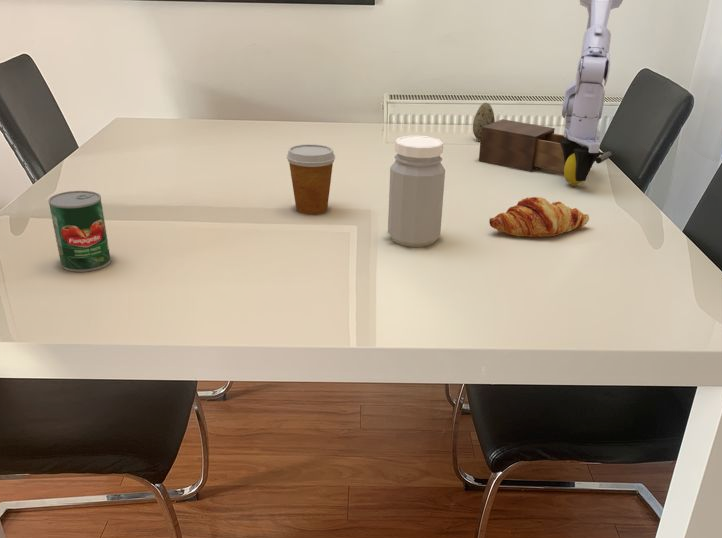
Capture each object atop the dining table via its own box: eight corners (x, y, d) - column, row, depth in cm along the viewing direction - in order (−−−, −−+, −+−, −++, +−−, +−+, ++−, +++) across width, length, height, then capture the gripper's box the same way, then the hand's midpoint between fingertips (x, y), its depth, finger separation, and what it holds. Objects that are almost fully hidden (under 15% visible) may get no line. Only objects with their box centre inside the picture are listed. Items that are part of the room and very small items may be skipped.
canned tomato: (82, 275, 121) (70, 209, 115) (50, 264, 124) (37, 199, 119) (121, 260, 127) (111, 196, 121) (90, 250, 130) (78, 187, 125)
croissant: (575, 238, 154) (572, 198, 153) (604, 231, 144) (601, 189, 143) (481, 244, 147) (477, 203, 147) (504, 237, 138) (500, 193, 137)
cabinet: (549, 162, 190) (554, 128, 186) (531, 171, 182) (536, 136, 178) (498, 152, 197) (502, 119, 193) (478, 161, 189) (481, 126, 184)
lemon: (584, 183, 175) (590, 148, 171) (587, 190, 171) (593, 155, 166) (560, 182, 176) (565, 147, 172) (562, 189, 171) (568, 153, 167)
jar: (403, 251, 135) (408, 150, 125) (378, 233, 142) (381, 136, 133) (449, 244, 139) (458, 145, 130) (423, 227, 146) (429, 132, 137)
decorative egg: (472, 137, 210) (475, 99, 205) (493, 138, 209) (497, 101, 204) (471, 142, 205) (474, 104, 200) (493, 144, 204) (497, 105, 199)
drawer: (610, 171, 182) (615, 143, 179) (595, 180, 175) (601, 151, 171) (541, 157, 190) (545, 130, 187) (524, 166, 183) (528, 138, 180)
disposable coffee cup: (343, 206, 155) (343, 147, 149) (320, 220, 147) (320, 158, 141) (303, 199, 158) (302, 141, 152) (279, 212, 150) (276, 151, 144)
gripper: (617, 122, 160) (605, 185, 167) (588, 108, 172) (578, 167, 179) (586, 123, 158) (575, 186, 165) (559, 108, 170) (550, 168, 177)
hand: (575, 176), depth 172 cm, fingers closed on lemon, 5 cm apart
